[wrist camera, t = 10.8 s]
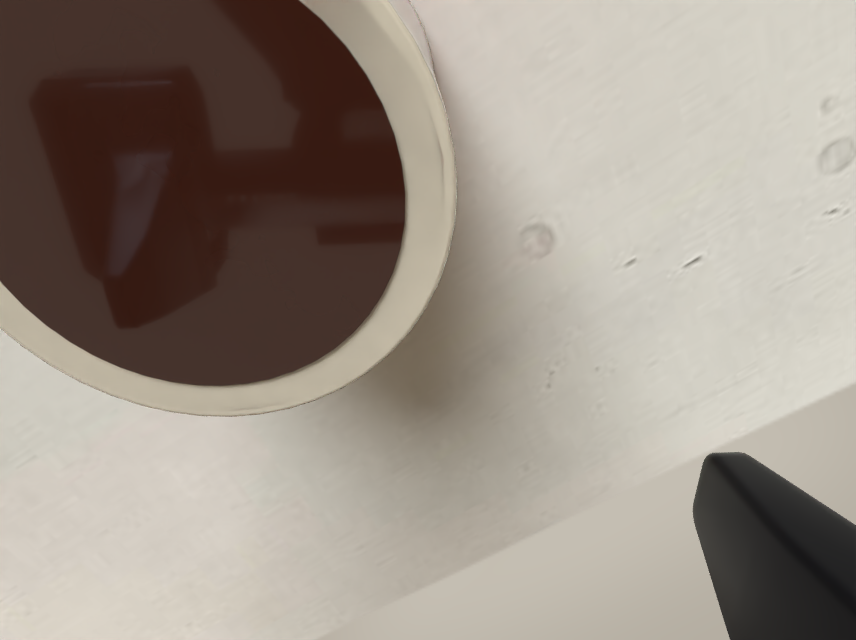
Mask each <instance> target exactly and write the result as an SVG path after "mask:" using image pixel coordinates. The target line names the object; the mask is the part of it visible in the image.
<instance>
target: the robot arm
mask: <svg viewBox="0 0 856 640" xmlns="http://www.w3.org/2000/svg"><path fill="white" fill-rule="evenodd" d="M693 518H694V523H695V527H696V530H697V534H698V537H699V540H700V543H701V547H702V550H703V553H704V556H705V560H706V563H707V566H708V569H709V573H710V576H711V579H712V582H713V586H714V589H715V592H716V595H717V598H718V602H719V605H720V609H721V612H722V615H723V618H724V622H725V625H726V628H727V631H728V634H729V637H730V640H856V525H854V524H853V523H851V522H850V521H848V520H847V519H845V518H844V517H842V516H841V515H839V514H838V513H836V512H835V511H833V510H832V509H830V508H829V507H827V506H826V505H824V504H822V503H821V502H819V501H818V500H816V499H815V498H813V497H812V496H810V495H809V494H807V493H806V492H804V491H803V490H801V489H800V488H798V487H797V486H795V485H793V484H792V483H790V482H789V481H787V480H786V479H784V478H783V477H781V476H780V475H778V474H776V473H775V472H774V471H772V470H770V469H769V468H768V467H766V466H764V465H763V464H761V463H759V462H758V461H757V460H755V459H754V458H752V457H751V456H749V455H747V454H745V453H740V452H730V453H729V452H728V453H712V454H709V455H708V456H707V457H706V458H705V460H704V462H703V465H702V469H701V473H700V478H699V482H698V486H697V490H696V494H695V499H694V503H693Z"/></svg>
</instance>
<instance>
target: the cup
mask: <svg viewBox="0 0 856 640" xmlns="http://www.w3.org/2000/svg"><path fill="white" fill-rule="evenodd" d="M456 204H457V176H456V162H455V151H454V146H453V141H452V137H451V132H450V127H449V122H448V117H447V112H446V107H445V104H444V101H443V98H442V95H441V93H440V90H439V87H438V84H437V81H436V78H435V74H434V67H433V62H432V57H431V52H430V48H429V44H428V41H427V38H426V35H425V32H424V29H423V26H422V24H421V22H420V20H419V18H418V16H417V14H416V12H415V10H414V7H413V6H412V4H411V3H410V1H409V0H0V329H2V330H3V331H4V332H5V333H7V334H8V335H9V336H10V337H11V338H13V339H14V340H15V341H16V342H17V343H19V344H20V345H21V346H22V347H24V348H25V349H27V350H28V351H30V352H31V353H33V354H34V355H36V356H37V357H38V358H40V359H41V360H43V361H44V362H46V363H47V364H49V365H50V366H52V367H54V368H56V369H57V370H59V371H61V372H63V373H65V374H66V375H68V376H70V377H72V378H74V379H76V380H77V381H79V382H81V383H83V384H86V385H88V386H90V387H93V388H95V389H97V390H99V391H102V392H104V393H106V394H109V395H111V396H114V397H117V398H120V399H123V400H126V401H129V402H132V403H136V404H139V405H142V406H146V407H151V408H155V409H160V410H164V411H169V412H174V413H182V414H190V415H198V416H226V417H233V416H245V415H257V414H264V413H270V412H275V411H280V410H285V409H290V408H293V407H296V406H299V405H302V404H305V403H309V402H312V401H315V400H317V399H320V398H322V397H324V396H326V395H328V394H331V393H333V392H335V391H337V390H339V389H342V388H343V387H345V386H346V385H348V384H350V383H351V382H353V381H355V380H356V379H358V378H359V377H361V376H363V375H364V374H366V373H367V372H368V371H369V370H371V369H372V368H373V367H374V366H376V365H377V364H378V363H379V362H381V361H382V360H383V359H384V358H385V357H387V356H388V355H389V354H390V353H391V352H392V351H393V350H394V349H395V348H396V346H397V345H398V344H399V343H400V342H401V341H402V340H403V339H404V338H405V337H406V336H407V335H408V334H409V332H410V331H411V329H412V328H413V326H414V325H415V324H416V322H417V321H418V319H419V318H420V317H421V315H422V314H423V312H424V311H425V309H426V307H427V305H428V303H429V301H430V300H431V298H432V296H433V294H434V292H435V290H436V288H437V286H438V284H439V281H440V278H441V276H442V273H443V270H444V267H445V264H446V261H447V259H448V256H449V252H450V247H451V242H452V237H453V232H454V227H455V220H456Z"/></svg>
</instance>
